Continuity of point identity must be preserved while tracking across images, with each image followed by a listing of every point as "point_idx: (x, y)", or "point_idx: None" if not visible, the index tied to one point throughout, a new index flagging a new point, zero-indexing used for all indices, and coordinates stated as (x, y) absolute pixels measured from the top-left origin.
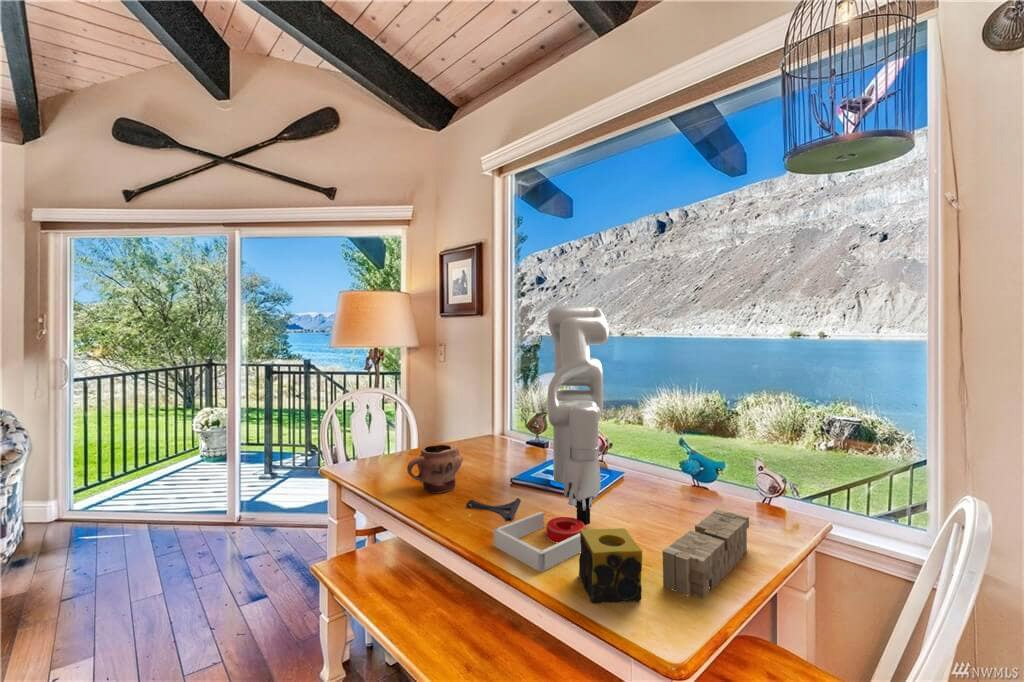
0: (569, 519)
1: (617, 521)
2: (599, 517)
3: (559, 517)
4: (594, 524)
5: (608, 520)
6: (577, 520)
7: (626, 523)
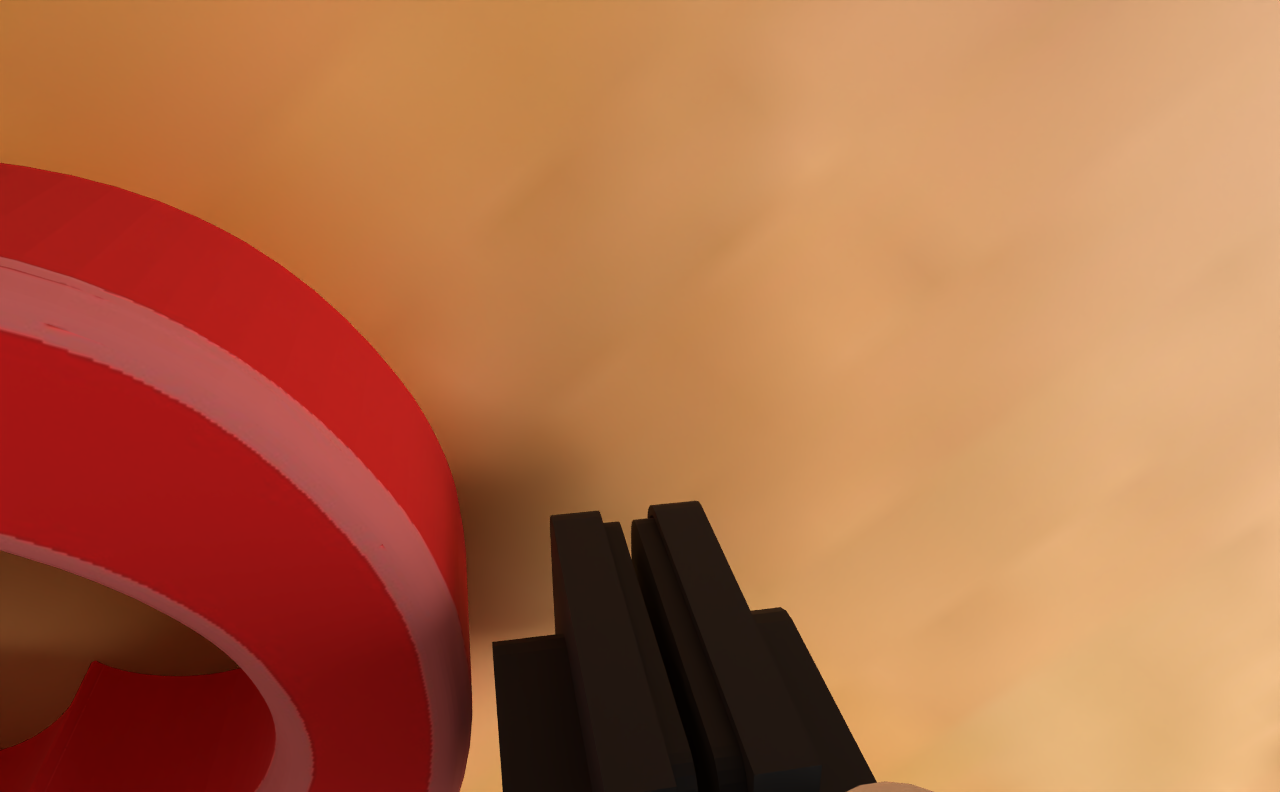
0: (225, 630)
1: (1244, 665)
2: (1242, 393)
3: (28, 360)
4: (903, 545)
5: (1204, 567)
6: (376, 764)
7: (1245, 770)
